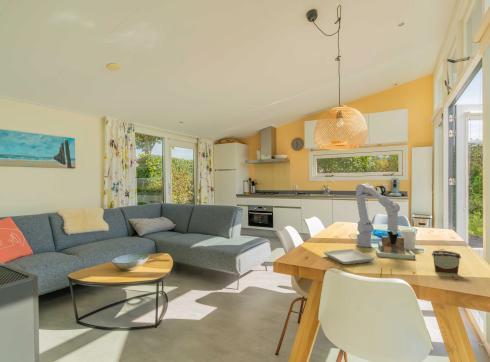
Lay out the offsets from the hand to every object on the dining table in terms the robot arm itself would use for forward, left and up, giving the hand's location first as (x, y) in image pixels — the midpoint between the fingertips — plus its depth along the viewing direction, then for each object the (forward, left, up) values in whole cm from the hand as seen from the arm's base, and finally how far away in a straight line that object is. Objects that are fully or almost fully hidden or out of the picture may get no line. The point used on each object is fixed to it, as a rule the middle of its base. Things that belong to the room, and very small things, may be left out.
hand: (392, 243), depth 173 cm
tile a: (-3, -2, -4) cm, 5 cm away
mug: (+13, +18, -6) cm, 23 cm away
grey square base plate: (0, +7, -6) cm, 9 cm away
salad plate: (-27, -24, -7) cm, 36 cm away
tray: (0, -6, -6) cm, 9 cm away
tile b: (+4, -6, -3) cm, 8 cm away
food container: (+19, -30, -6) cm, 36 cm away
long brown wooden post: (0, 0, -2) cm, 2 cm away
